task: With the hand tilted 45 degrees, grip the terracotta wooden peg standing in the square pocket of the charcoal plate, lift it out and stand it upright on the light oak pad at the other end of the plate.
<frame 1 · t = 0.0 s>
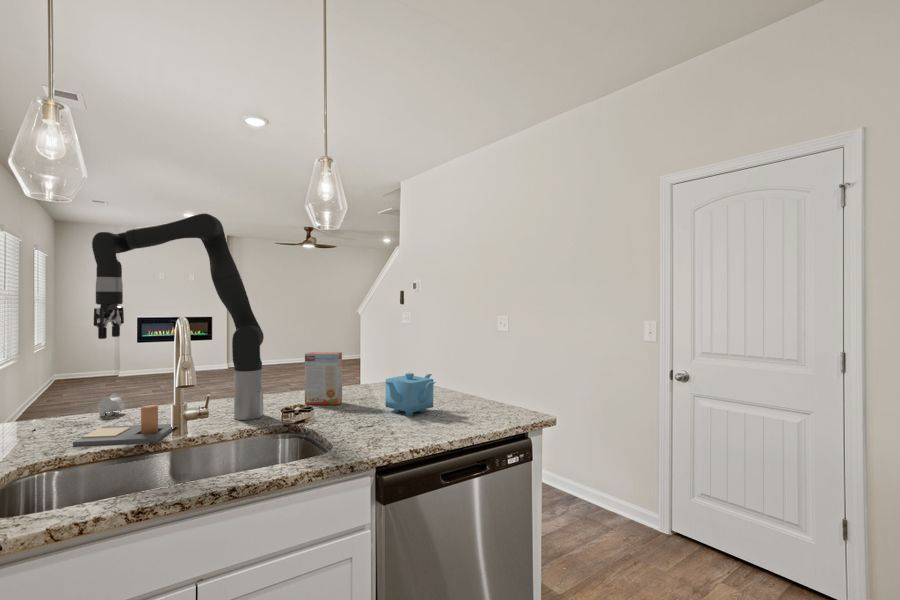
hand: (109, 337, 160), 29 cm above the worktop, tool pointing down, fingers open, 8 cm apart
elephant figurine: (111, 415, 171), on the worktop
peg: (149, 435, 146), resting in pocket plate
cracker box: (323, 403, 191), on the worktop
teakettle: (411, 412, 177), on the worktop
pocket plate: (128, 436, 145), on the worktop
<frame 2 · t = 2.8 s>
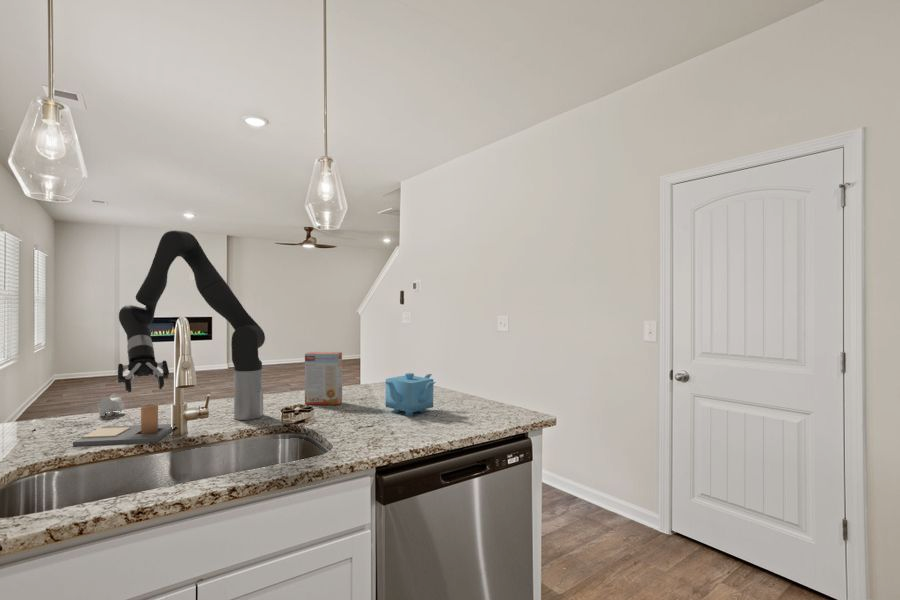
hand: (145, 389, 153), 13 cm above the worktop, tool tilted 45°, fingers open, 8 cm apart
nothing on the worktop moved.
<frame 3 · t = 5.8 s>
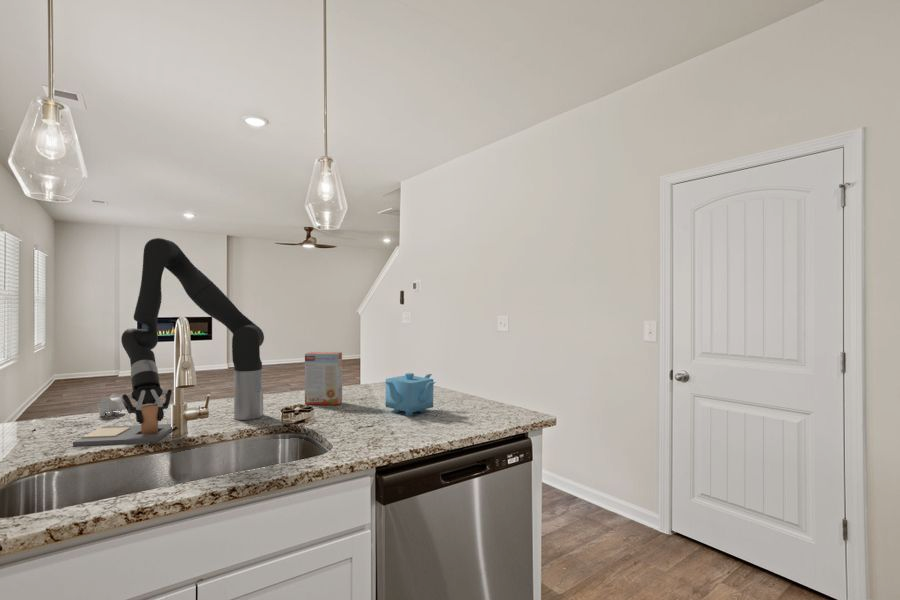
hand: (150, 420, 145), 5 cm above the worktop, tool tilted 45°, fingers closed on peg, 4 cm apart
peg: (149, 435, 146), resting in pocket plate, touching gripper
everything else where it was.
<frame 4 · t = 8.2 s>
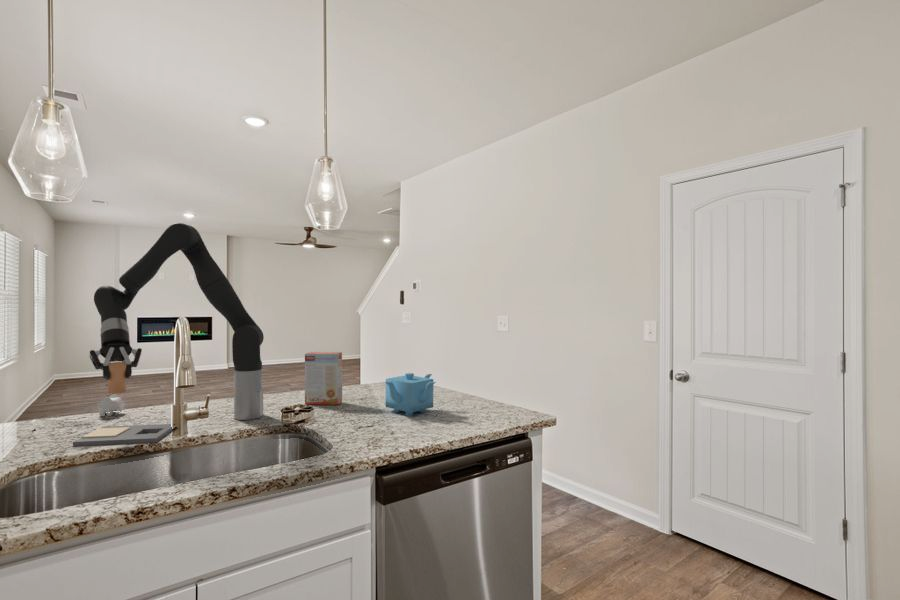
hand: (117, 377, 143), 19 cm above the worktop, tool tilted 45°, fingers closed on peg, 4 cm apart
peg: (116, 392, 144), point 14 cm above the worktop, touching gripper
everything else where it was.
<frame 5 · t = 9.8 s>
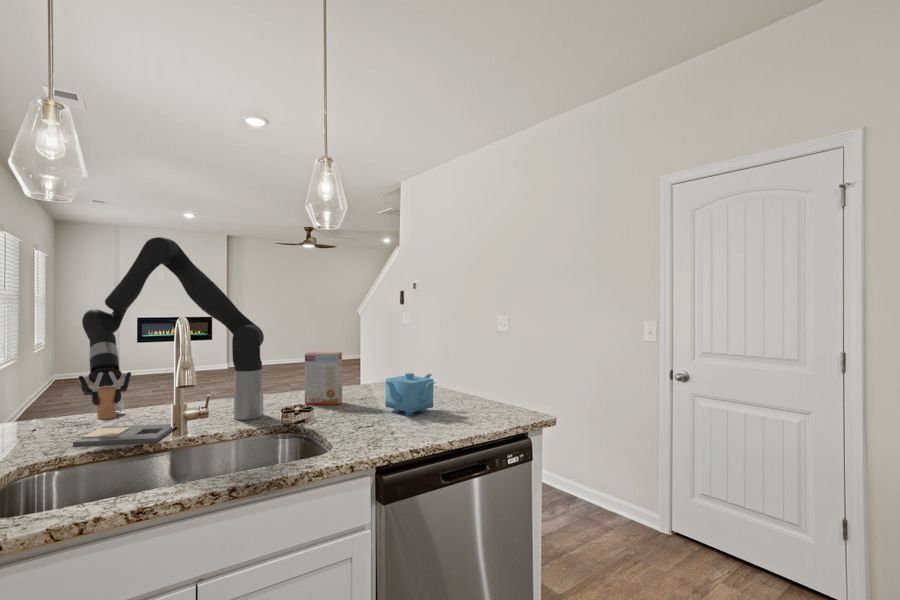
hand: (107, 402, 142), 11 cm above the worktop, tool tilted 45°, fingers closed on peg, 4 cm apart
peg: (106, 417, 144), point 6 cm above the worktop, touching gripper
everything else where it was.
when the fingers open (8 cm above the worktop, at t = 10.8 s): peg drops 1 cm, resting on pocket plate.
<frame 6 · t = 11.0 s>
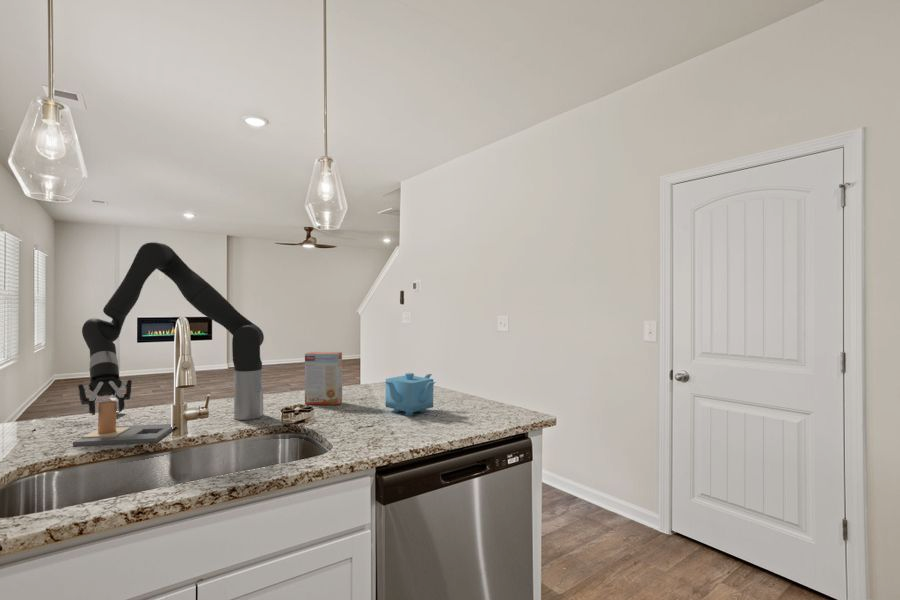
hand: (107, 411, 143), 8 cm above the worktop, tool tilted 45°, fingers open, 6 cm apart
peg: (107, 431, 144), point 2 cm above the worktop, touching pocket plate
everything else where it was.
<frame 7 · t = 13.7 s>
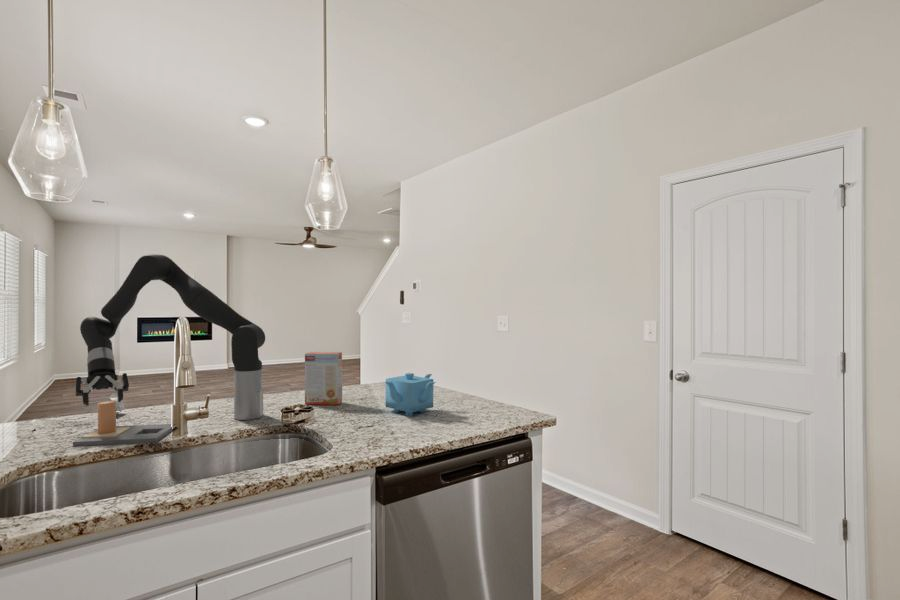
hand: (103, 402, 153), 9 cm above the worktop, tool tilted 45°, fingers open, 8 cm apart
nothing on the worktop moved.
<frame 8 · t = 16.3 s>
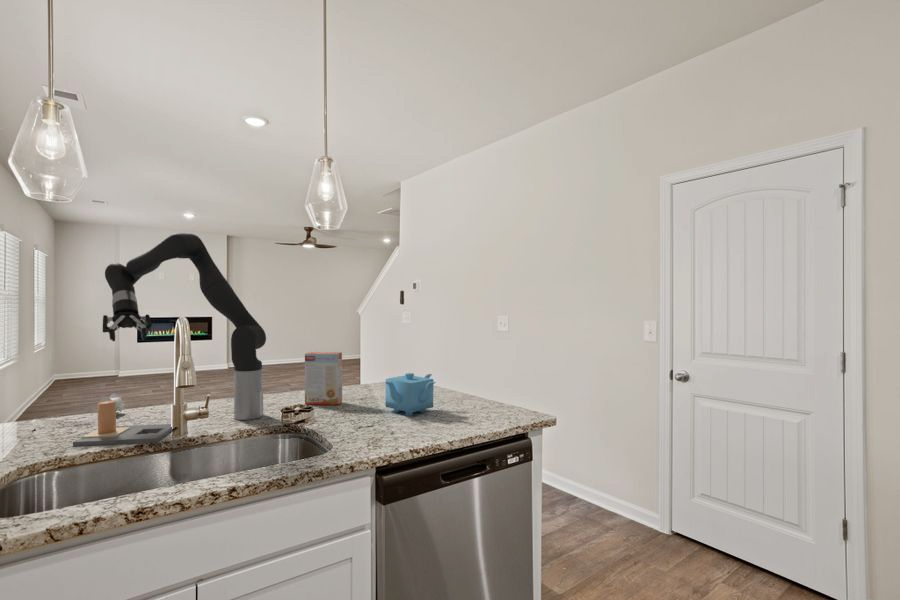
hand: (129, 339, 162), 29 cm above the worktop, tool tilted 45°, fingers open, 8 cm apart
nothing on the worktop moved.
at the end: peg 0.1 cm from the target spot on the pocket plate, point 1.6 cm above the pocket plate's base; peg tilted 0°; the gripper is holding nothing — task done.
